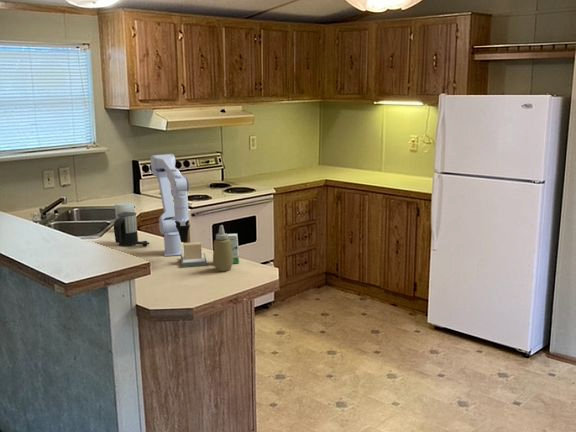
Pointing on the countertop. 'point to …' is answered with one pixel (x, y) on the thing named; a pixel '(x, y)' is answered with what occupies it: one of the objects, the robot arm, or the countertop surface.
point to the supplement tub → (123, 207)
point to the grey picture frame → (193, 261)
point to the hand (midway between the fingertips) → (183, 239)
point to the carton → (192, 250)
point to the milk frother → (127, 230)
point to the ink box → (234, 247)
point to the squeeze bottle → (222, 251)
